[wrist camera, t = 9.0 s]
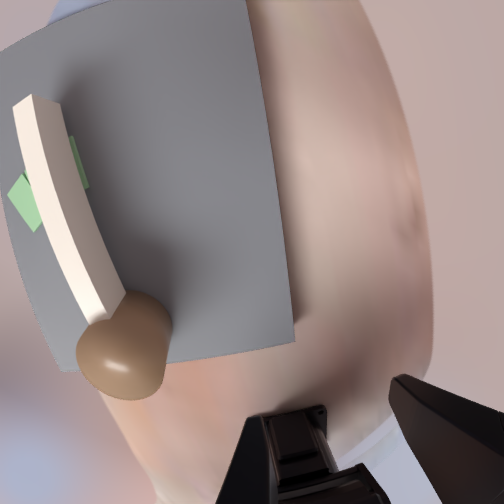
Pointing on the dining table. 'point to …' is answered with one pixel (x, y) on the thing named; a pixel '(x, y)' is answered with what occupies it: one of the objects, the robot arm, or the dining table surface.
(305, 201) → the dining table surface
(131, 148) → the dial plate
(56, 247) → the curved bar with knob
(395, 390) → the robot arm
